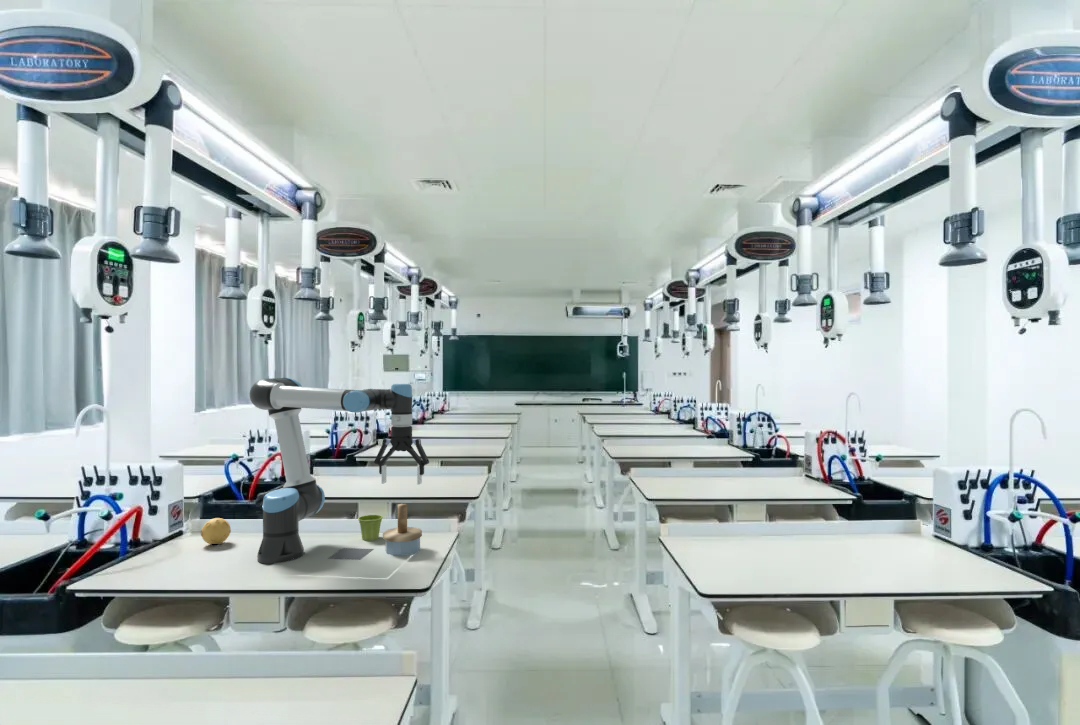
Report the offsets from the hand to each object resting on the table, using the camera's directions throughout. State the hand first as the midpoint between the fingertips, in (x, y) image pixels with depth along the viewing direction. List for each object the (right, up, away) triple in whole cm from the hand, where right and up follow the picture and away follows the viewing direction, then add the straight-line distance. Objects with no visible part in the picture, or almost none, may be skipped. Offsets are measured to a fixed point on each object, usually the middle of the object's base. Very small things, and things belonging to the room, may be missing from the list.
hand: (401, 483), depth 212 cm
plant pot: (-16, -25, +14) cm, 33 cm away
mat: (-17, -25, -4) cm, 30 cm away
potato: (-74, -26, +9) cm, 79 cm away
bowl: (+1, -25, -1) cm, 25 cm away
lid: (0, -19, -1) cm, 19 cm away
